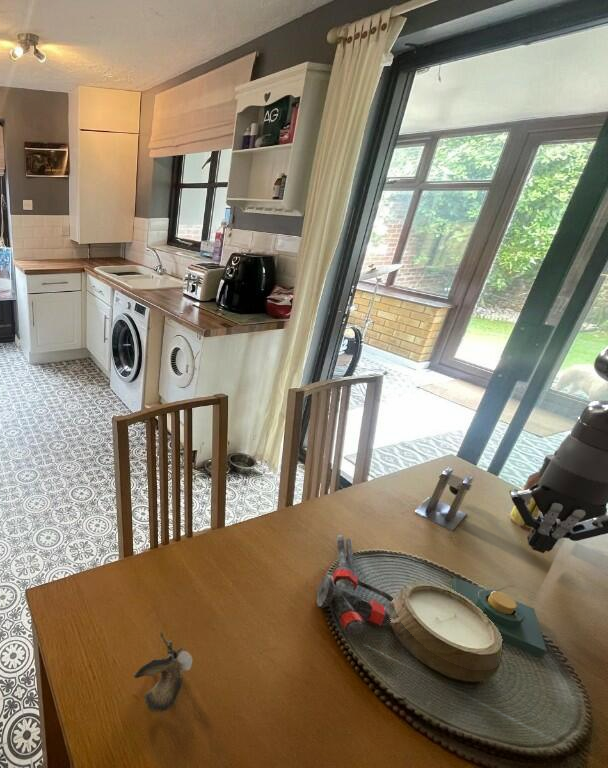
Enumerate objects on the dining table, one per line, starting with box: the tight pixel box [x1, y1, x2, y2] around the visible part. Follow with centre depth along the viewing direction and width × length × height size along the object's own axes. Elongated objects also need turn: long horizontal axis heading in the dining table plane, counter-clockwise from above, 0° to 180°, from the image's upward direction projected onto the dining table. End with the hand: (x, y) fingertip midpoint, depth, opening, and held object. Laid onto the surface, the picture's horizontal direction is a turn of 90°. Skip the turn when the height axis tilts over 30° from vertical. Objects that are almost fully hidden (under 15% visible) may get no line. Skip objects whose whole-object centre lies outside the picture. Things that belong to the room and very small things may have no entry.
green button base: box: [451, 577, 547, 659], centre depth 78 cm, size 12×10×4 cm
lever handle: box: [447, 473, 464, 496], centre depth 103 cm, size 14×4×4 cm
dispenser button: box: [488, 590, 517, 615], centre depth 77 cm, size 4×4×2 cm
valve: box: [316, 534, 395, 635], centre depth 83 cm, size 6×26×15 cm
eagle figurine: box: [133, 631, 194, 712], centre depth 67 cm, size 8×7×9 cm
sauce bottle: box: [509, 454, 554, 532], centre depth 97 cm, size 7×6×20 cm
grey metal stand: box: [413, 467, 475, 532], centre depth 101 cm, size 10×8×13 cm
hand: (536, 548), depth 71 cm, fingers closed
